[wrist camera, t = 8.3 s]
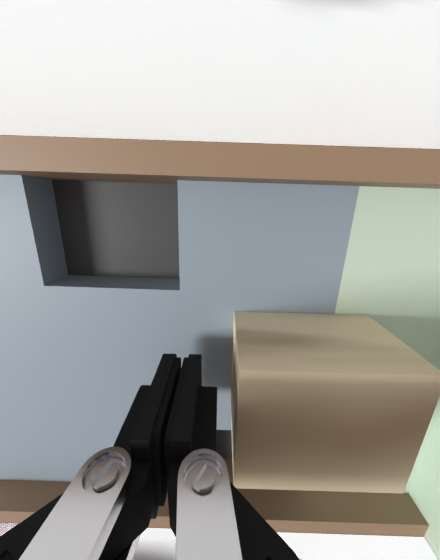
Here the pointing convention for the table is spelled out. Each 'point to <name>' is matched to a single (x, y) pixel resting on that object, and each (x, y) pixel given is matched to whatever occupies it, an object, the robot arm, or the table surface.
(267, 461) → the maple block
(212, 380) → the box
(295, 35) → the table surface
